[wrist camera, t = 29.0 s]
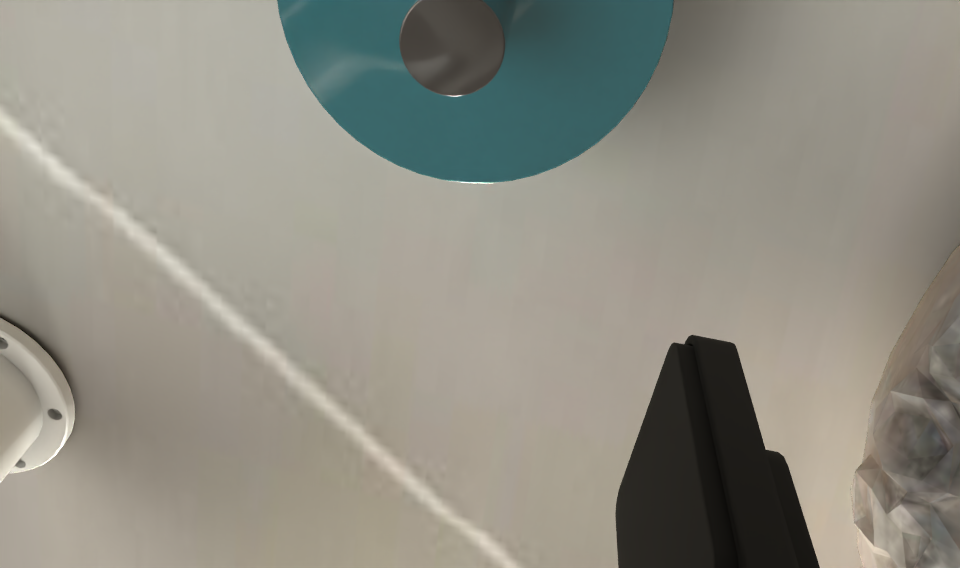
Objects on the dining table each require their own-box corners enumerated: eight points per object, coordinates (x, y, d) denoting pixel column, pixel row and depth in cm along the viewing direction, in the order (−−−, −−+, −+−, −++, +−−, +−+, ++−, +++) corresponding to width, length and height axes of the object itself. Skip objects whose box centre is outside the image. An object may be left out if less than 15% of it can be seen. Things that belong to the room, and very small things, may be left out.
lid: (275, 135, 33) (214, 210, 27) (294, -273, 26) (218, -285, 20) (615, 202, 33) (625, 290, 28) (725, -187, 26) (767, -176, 21)
